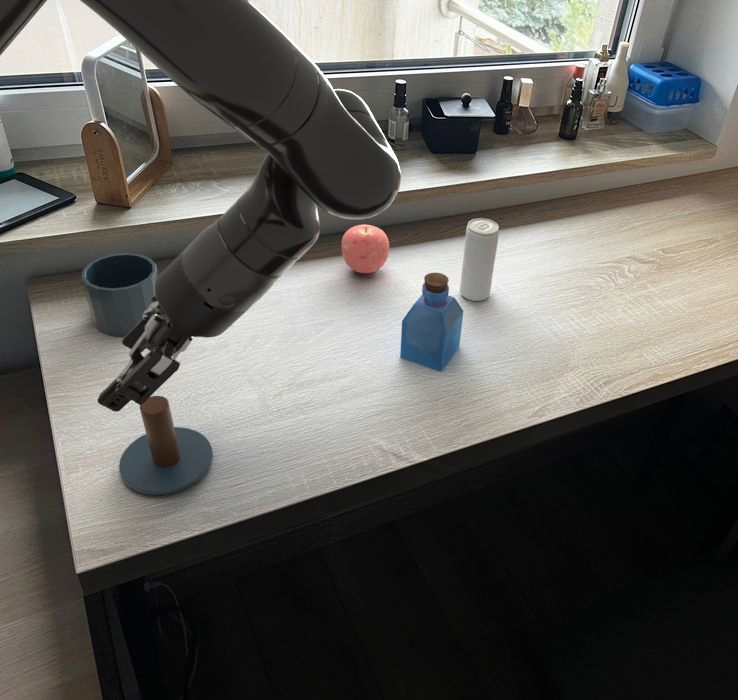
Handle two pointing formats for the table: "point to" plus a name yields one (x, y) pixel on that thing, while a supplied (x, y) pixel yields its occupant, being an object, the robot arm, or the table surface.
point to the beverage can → (479, 258)
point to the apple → (365, 248)
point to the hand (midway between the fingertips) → (119, 374)
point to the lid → (164, 453)
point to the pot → (119, 290)
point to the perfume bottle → (432, 325)
